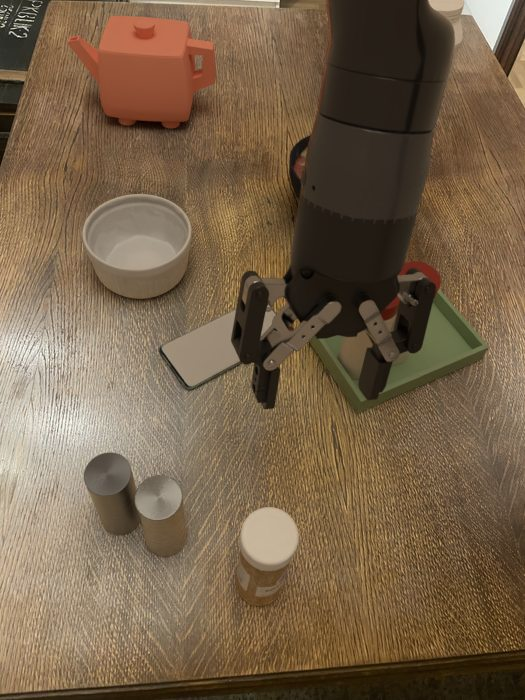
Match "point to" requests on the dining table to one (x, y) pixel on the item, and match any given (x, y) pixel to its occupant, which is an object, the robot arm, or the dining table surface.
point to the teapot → (147, 68)
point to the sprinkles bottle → (265, 554)
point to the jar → (451, 6)
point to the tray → (413, 355)
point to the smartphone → (205, 350)
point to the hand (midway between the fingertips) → (317, 398)
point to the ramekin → (138, 244)
